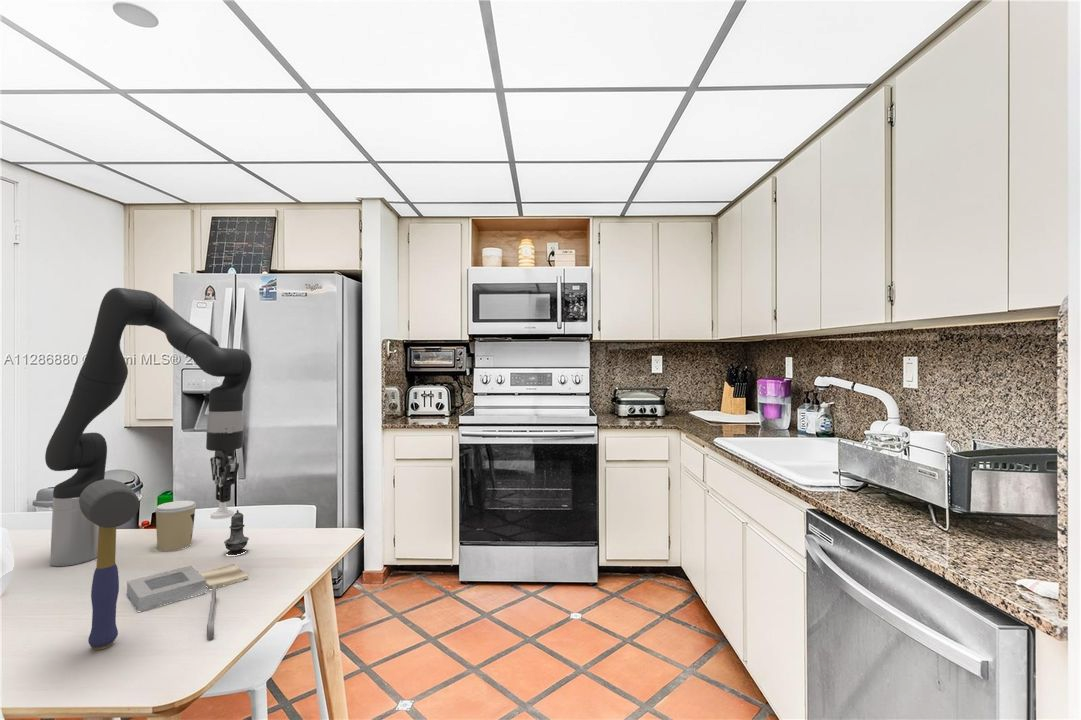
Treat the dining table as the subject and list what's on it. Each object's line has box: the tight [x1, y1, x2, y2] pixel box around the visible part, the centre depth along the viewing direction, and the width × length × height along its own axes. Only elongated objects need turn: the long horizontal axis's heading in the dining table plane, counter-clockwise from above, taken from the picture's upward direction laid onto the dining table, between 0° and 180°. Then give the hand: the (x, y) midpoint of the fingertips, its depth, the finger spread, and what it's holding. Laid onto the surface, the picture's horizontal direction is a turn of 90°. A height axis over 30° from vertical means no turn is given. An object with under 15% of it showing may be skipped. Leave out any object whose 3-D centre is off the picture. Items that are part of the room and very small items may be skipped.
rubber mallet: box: [79, 478, 140, 651], centre depth 89 cm, size 12×8×30 cm, turn 50°
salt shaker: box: [223, 509, 250, 555], centre depth 134 cm, size 6×6×12 cm
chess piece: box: [209, 483, 235, 520], centre depth 118 cm, size 5×5×10 cm
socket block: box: [126, 565, 207, 612], centre depth 109 cm, size 12×12×3 cm
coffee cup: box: [154, 500, 197, 552], centre depth 138 cm, size 9×9×12 cm
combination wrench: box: [206, 584, 217, 640], centre depth 99 cm, size 4×1×20 cm
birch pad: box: [199, 563, 249, 590], centre depth 118 cm, size 10×8×1 cm
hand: (223, 500), depth 118 cm, fingers closed on chess piece
